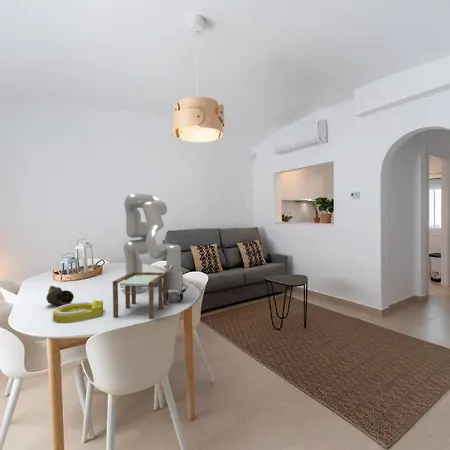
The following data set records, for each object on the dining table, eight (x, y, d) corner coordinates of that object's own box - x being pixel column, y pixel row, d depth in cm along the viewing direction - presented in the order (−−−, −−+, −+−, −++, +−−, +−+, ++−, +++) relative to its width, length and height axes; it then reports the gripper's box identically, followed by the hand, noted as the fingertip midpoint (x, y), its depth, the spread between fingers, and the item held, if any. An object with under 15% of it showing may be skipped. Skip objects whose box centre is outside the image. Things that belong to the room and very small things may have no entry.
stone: (167, 303, 151) (167, 294, 151) (170, 300, 156) (170, 291, 156) (177, 303, 150) (177, 294, 150) (180, 300, 156) (179, 291, 155)
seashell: (54, 310, 140) (54, 290, 140) (43, 306, 146) (42, 287, 146) (75, 304, 149) (75, 285, 149) (63, 300, 155) (63, 282, 155)
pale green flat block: (119, 293, 132) (119, 283, 132) (134, 285, 148) (133, 275, 148) (149, 294, 131) (149, 284, 130) (161, 285, 146) (161, 276, 146)
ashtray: (101, 319, 129) (101, 308, 129) (49, 325, 122) (49, 314, 122) (103, 308, 145) (103, 298, 144) (57, 313, 137) (56, 303, 137)
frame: (113, 317, 131) (112, 281, 130) (133, 302, 151) (132, 271, 151) (152, 319, 129) (152, 282, 128) (167, 304, 149) (166, 272, 149)
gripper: (155, 269, 150) (156, 302, 151) (187, 269, 148) (188, 303, 149) (160, 266, 157) (160, 298, 158) (191, 267, 155) (191, 299, 156)
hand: (174, 300), depth 153 cm, fingers open, 6 cm apart
